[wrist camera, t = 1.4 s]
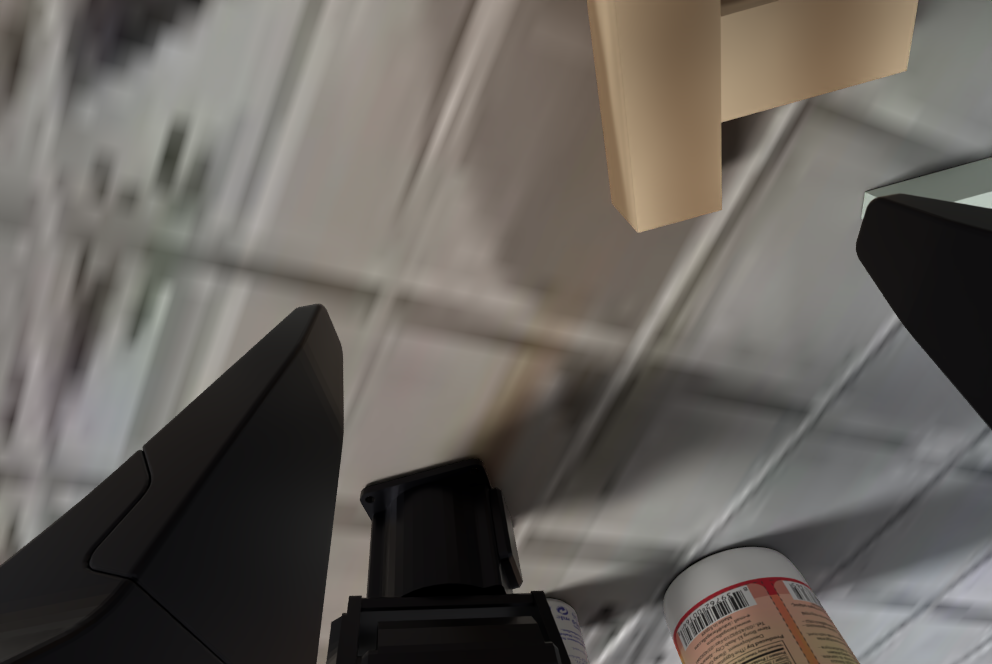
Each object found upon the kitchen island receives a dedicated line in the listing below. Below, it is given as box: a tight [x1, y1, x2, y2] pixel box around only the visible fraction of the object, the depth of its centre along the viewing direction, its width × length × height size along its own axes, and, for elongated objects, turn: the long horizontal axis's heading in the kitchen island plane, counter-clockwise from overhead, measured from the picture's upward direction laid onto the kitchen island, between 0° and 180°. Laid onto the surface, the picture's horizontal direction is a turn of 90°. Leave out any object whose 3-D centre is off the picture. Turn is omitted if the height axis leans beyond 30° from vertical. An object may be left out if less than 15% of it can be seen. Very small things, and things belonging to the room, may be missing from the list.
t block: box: [587, 0, 918, 233], centre depth 18 cm, size 9×9×3 cm
